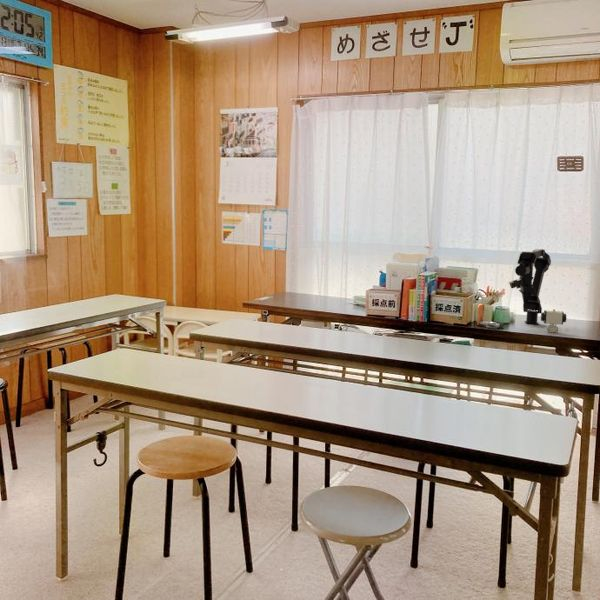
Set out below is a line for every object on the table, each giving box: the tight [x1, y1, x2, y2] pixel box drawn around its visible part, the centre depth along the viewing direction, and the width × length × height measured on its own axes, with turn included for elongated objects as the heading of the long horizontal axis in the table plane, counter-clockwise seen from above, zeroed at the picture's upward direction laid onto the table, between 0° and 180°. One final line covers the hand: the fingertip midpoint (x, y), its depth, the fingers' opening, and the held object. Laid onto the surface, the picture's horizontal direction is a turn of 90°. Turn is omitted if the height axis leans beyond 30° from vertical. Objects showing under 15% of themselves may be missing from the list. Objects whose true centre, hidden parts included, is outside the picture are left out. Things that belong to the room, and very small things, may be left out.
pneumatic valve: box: [540, 308, 567, 333], centre depth 320 cm, size 6×12×12 cm, turn 76°
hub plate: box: [484, 324, 500, 330], centre depth 330 cm, size 7×7×1 cm
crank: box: [476, 303, 500, 327], centre depth 331 cm, size 13×4×11 cm, turn 38°
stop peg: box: [497, 322, 504, 329], centre depth 329 cm, size 3×3×3 cm
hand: (524, 303), depth 332 cm, fingers closed
